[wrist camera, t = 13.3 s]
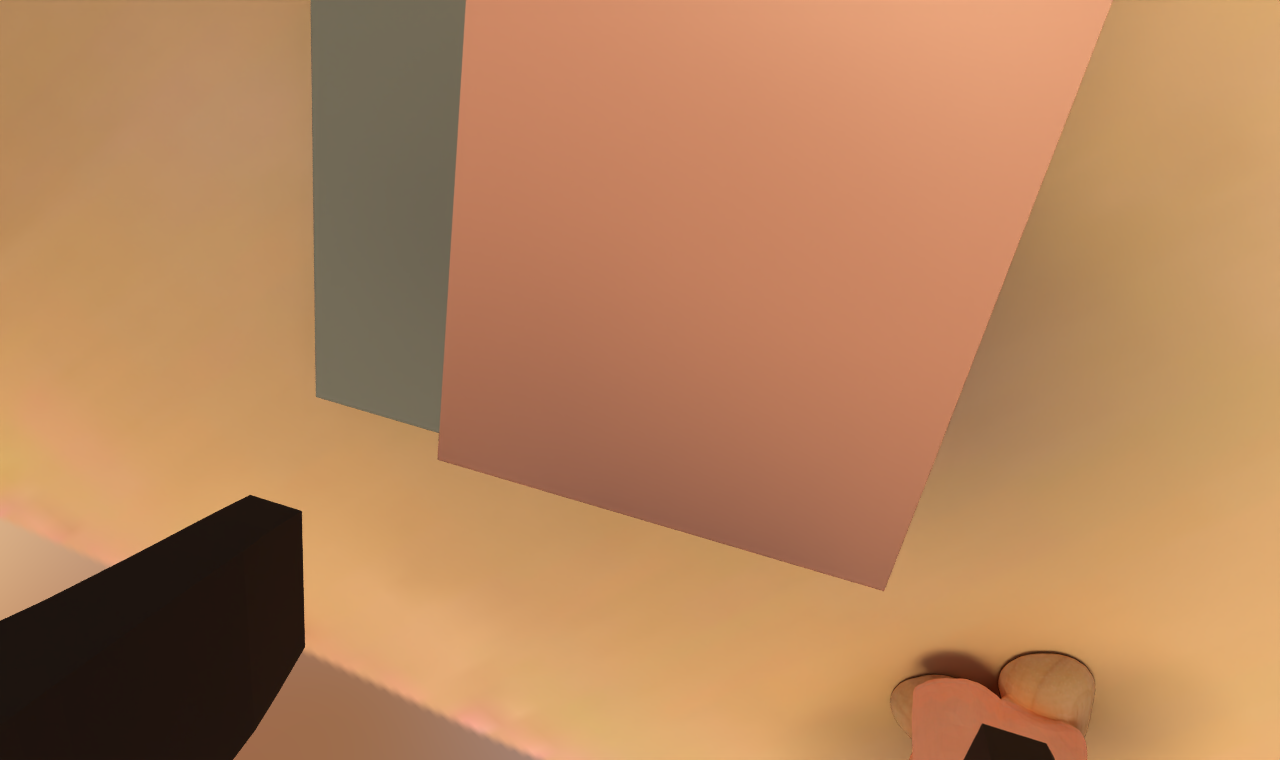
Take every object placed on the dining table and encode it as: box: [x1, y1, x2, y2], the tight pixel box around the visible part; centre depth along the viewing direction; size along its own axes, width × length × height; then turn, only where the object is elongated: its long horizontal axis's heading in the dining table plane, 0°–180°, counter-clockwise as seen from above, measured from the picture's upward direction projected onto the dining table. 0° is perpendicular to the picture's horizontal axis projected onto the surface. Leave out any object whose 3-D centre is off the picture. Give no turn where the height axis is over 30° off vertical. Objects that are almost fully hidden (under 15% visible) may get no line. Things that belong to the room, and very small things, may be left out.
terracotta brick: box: [438, 0, 1113, 591], centre depth 10 cm, size 5×6×4 cm
